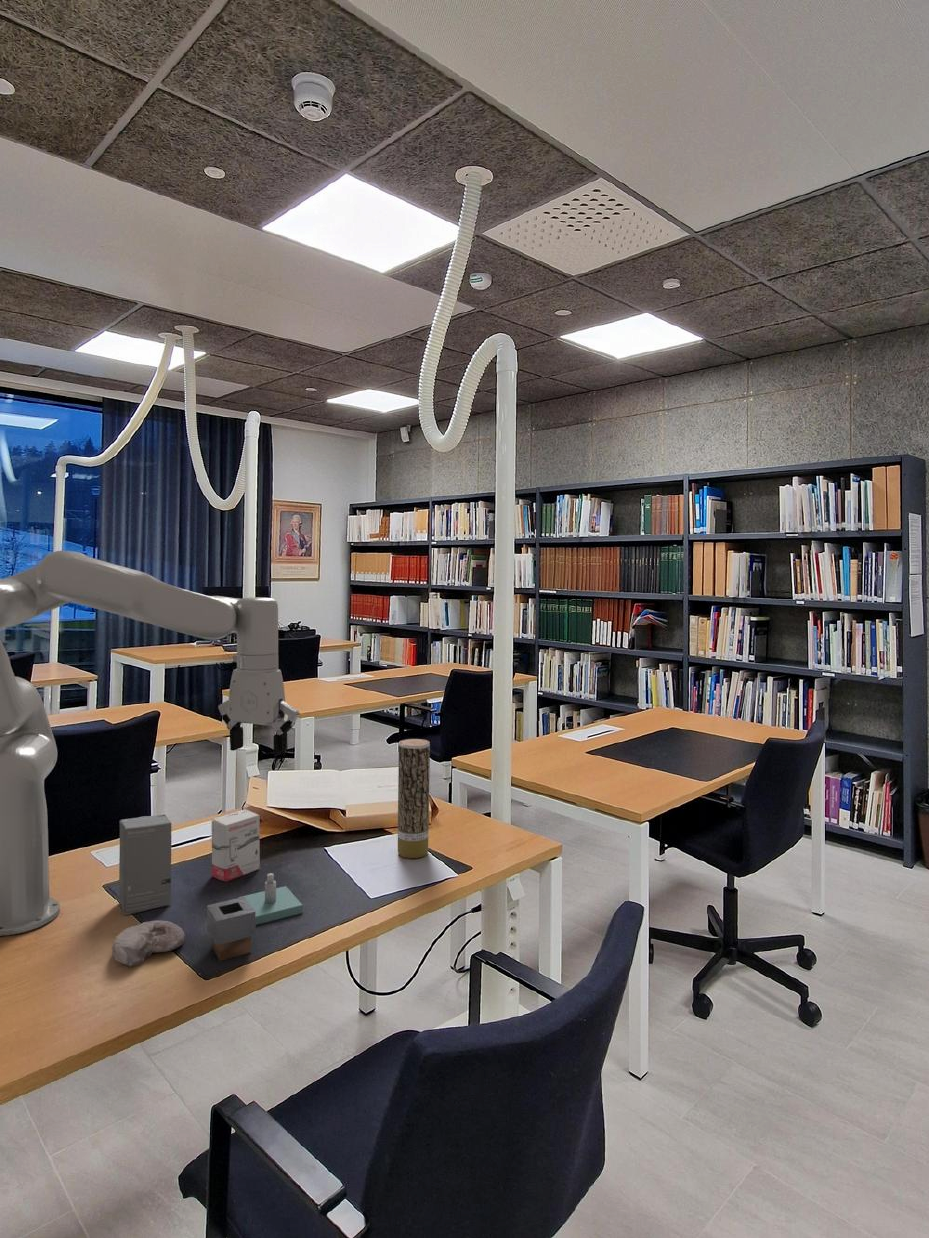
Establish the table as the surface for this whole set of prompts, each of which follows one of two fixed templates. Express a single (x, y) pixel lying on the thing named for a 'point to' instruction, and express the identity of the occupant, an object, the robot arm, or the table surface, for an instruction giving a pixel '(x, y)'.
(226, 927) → the collar
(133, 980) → the table surface
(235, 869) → the ink box
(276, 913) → the green peg base
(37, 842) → the robot arm
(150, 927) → the fossil
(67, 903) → the table surface
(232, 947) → the stand
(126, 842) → the skincare box
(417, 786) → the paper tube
